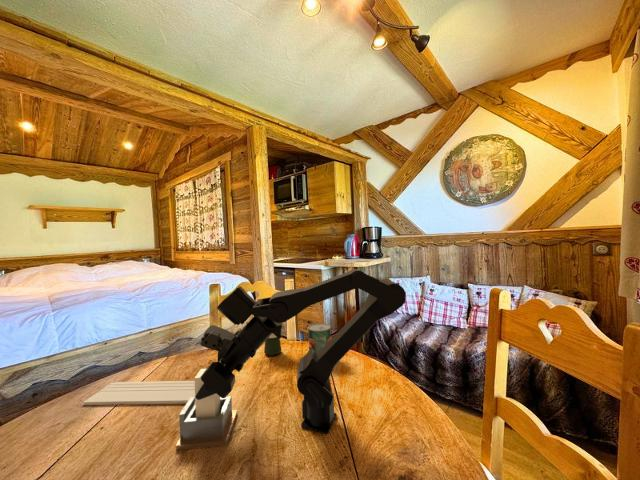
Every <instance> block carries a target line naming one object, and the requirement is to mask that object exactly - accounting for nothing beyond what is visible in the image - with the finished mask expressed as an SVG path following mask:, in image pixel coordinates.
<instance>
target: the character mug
mask: <svg viewBox="0 0 640 480" xmlns="http://www.w3.org/2000/svg"><path fill="white" fill-rule="evenodd" d="M282 324H283V325H282V326H283V328H282V333H286V332H287V331H288V328H287V327H288V326H287V322H283V323H282ZM281 344H282V343H281V338H280V339H279V338H277V337H276V336H275V335H274V334H273V333H272V335H271V336H270V337H269V338H268V339H267V340H266V341H265V342H264V349H263V350H264V351H263V352H264V354H265V355H267V356H275V355H278V354H279V353H281V352H282V345H281Z"/></svg>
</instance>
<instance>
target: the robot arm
mask: <svg viewBox="0 0 640 480" xmlns="http://www.w3.org/2000/svg"><path fill="white" fill-rule="evenodd" d="M355 289H359V290H361V291H363V292H365V293H367V294H368V295H367V296H366V300H365V302H364V303H363V305H362V307H360V309H359V310H357V312H356V313H355V314H354V315H353V316H352V317H351V318H350V319H349V320H348V321H347V322H346V323H345V324H344V326H343V327H342V328H341V329H340V330H339V331H338V332H337V333H336V334H334V336H333V337H331V340H330V341H329V342H328V343H327V344H326V345H325V346H324V347H323V348H322V349H321V350H318V351H316V352H314V350H313V349H312V348H310V349H309V348H308V351H307V352H306V353H305V355H303V356H302V357H300V358H299V364H298V365H297V371H296V388H297V390H298V392H299V393H300V394H301V395H303V399H302V400H301V401H302V402H301V407H302V408H301V409H302V410H301V411H302V414H301V417H302V419H303V420H302V422H301V425H300V426H301V427H302V428H304V429H308V430H311V431H315V432H318V433H322V434H325V435H326V434H329V433H330V430H331V429H332V426H333V425H334V422H335V421H336V418H337V417H338V414H337V413H336V412H335V397H334V395H335V394H334V392H333V389H332V384H331V378H330V377H331V375H332V373H333V371H334V368H335V366H336V365H337V364H338V363H339V362H340V361H341V359H343V358H344V357H345V356H346V354H347V353H348V352H350V350H351V349H352V348H354V346H355V345H356V344H357V343H358V342H359V341H360V340H361V339H362V338H363V337H364V335H366V333H368V332H369V330H370V329H371V328H373V326H374V325H375V324H376V323H377V322H378V321H380V320H382V319H384V318H386V317H389V316H391V315H392V314H394V313H395V312H396V311H397V310H399V309H400V308H402V306H404V304H405V303H406V301H407V295H406V294H407V293H406V291H405V289H404V287H403V286H402V285H401V284H398V283H397V282H395V281H392V280H390V279H378V278H376V277H373V276H371V275H370V274H367V273H366V272H364V271H362V270H360V269H359V268H352V269H350V270H348V271H347V272H344V273H342V274H339V275H336V276H333V277H331V278H327V279H326V280H322V281H320V282H317V283H315V284H311V285H309V286H307V287H303V288H294V289H293V288H292V289H286V290H285V289H284V290H281V291H277V292H275V293H273V294H272V295H271V296H270V297H269V296H268V297H264V298H263V297H262V298H260V299H257V300H255V299H254V298H253V297H252V296H251V295H249V294H248V292H246V290H245V289H244V288H243V287H242V286H241V285H239V286H238V287H236V288H235V289H234V290H233V291H232V292H231V293H230V294H229V295H228V296H226V297H225V298H224V299H223V300H222V301H221V302H220V303H219V304H218V305H217V307H215V308H216V310H217V311H219V312H220V314H221V315H223V316H224V317H225V318H226V319H228V321H230V323H231V324H233V325H234V326H236V325H237V326H239V325H240V324H241V325H244V324H245V323H246V321H247V320H248V319H250V317H252V316H253V317H252V318H251V319H250V320H249V321H248V322H247V323H246V324H245V325H244V326H243V327H242V328H241V329H239V330H238V329H237V330H236V332H234V333H233V332H231V331H229V330H228V329H225V328H222V327H220V326H218V325H213V324H211V325H209V326H208V327H207V328H206V330H205V331H204V334H203V336H202V337H201V338H200V343H199V344H200V346H202V347H204V348H206V349H209V350H212V351H216V352H217V361H212V362H211V363H210V364H209V365H208V366H207V367H206V368H207V369H206V368H205V369H206V370H205V371H204V373H203V374H202V376H201V377H200V378H201V381H202V382H204V384H203V385H202V387H201V388H200V390H199V391H198V393H197V394H196V396H195V398H196V399H198V400H200V399H203V398H206V397H208V396H211V395H213V394H218V395H219V396H220V397H221V398H225V397H227V396H229V394H230V393H231V392H232V390H233V388H234V386H235V383H236V375H235V374H234V373H233V372H234V371H237V372H238V373H240V372H241V371H242V369H243V368H244V365H245V364H246V363H247V362H248V361H249V360H250V358H251V359H253V358H254V357H255V356H256V353H257V351H258V350H259V349H260V347H261V346H262V345H264V344H265V341H266V340H267V339H268V338H269V337H270V336H271V335H272V333H273V334H274V335H275V336H276V337H277V338H279V339H280V340H281V338H282V334H283V332H282V329H283V326H284V325H283V324H282V323H286V322H287V321H289V320H290V319H292V318H294V317H296V316H297V315H299V314H300V313H301V312H303V311H304V310H306V309H307V308H309V307H310V306H313V305H316V304H319V303H321V302H324V301H325V300H329V299H331V298H334V297H337V296H340V295H342V294H345V293H348V292H350V291H353V290H355Z"/></svg>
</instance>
